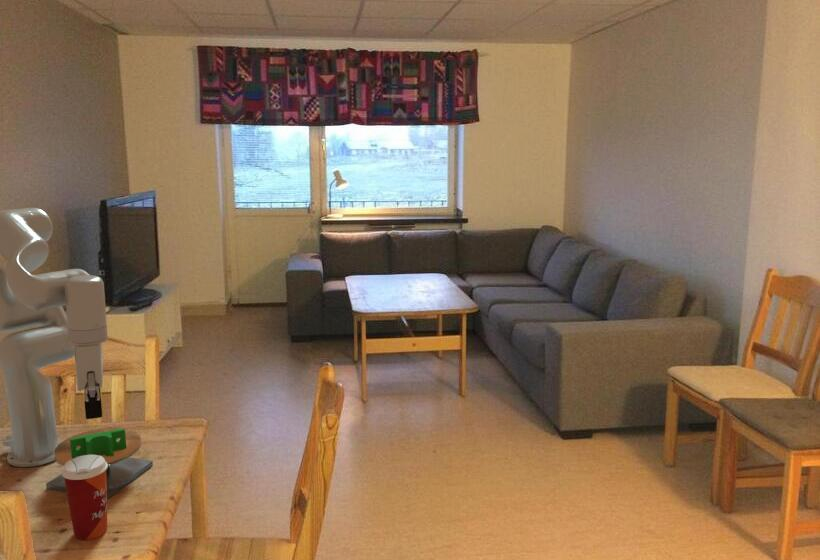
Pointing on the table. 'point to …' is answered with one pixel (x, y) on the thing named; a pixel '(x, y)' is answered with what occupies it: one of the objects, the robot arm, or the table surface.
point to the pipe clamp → (98, 443)
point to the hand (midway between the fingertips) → (93, 408)
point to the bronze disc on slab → (118, 465)
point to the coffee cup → (87, 495)
